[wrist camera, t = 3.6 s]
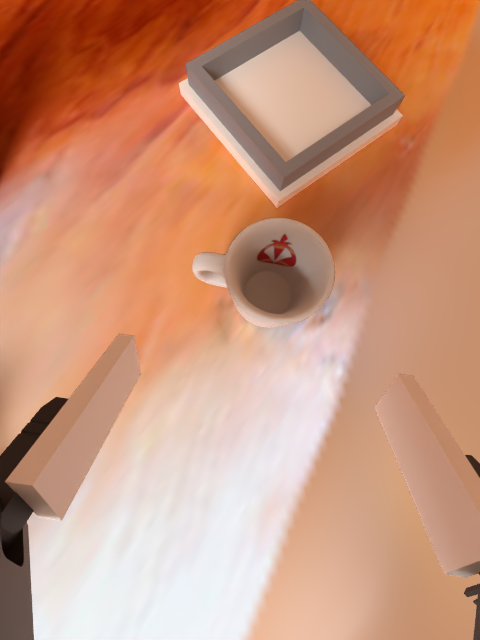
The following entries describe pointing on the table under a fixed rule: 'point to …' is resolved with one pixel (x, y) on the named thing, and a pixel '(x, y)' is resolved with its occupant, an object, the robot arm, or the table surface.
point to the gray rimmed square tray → (291, 98)
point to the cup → (272, 271)
